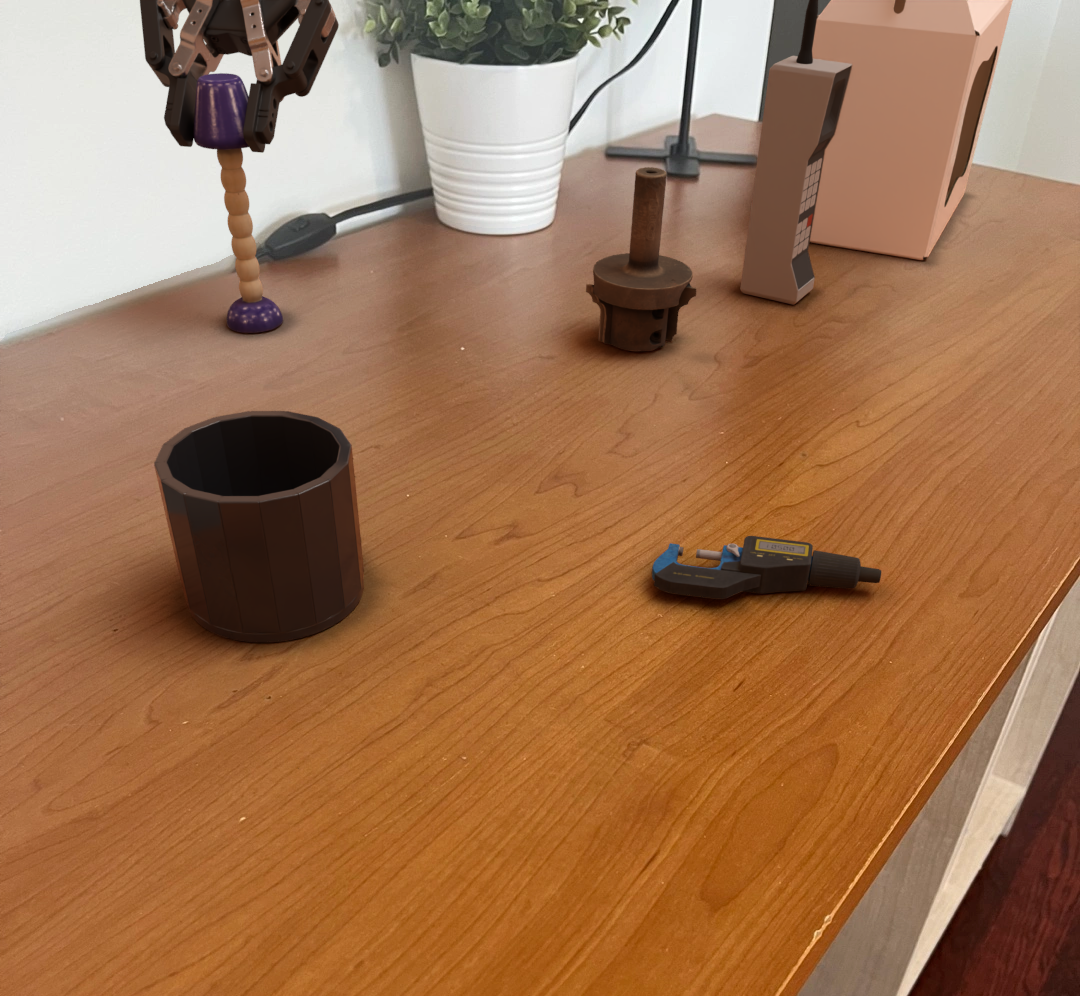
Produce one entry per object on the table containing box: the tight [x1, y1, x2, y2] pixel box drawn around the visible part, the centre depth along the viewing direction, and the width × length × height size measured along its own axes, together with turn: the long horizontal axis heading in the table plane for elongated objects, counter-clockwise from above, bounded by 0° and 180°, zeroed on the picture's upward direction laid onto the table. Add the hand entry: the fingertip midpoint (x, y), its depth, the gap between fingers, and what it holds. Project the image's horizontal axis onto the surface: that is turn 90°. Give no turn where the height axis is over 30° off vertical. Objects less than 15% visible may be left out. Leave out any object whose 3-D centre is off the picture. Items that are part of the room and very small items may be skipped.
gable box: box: [810, 0, 1014, 261], centre depth 100 cm, size 22×13×28 cm, turn 156°
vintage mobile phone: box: [739, 0, 852, 305], centre depth 85 cm, size 4×5×25 cm
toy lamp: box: [193, 72, 284, 334], centre depth 81 cm, size 5×5×17 cm
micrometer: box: [651, 535, 882, 600], centre depth 60 cm, size 12×2×5 cm
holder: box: [153, 410, 365, 644], centre depth 57 cm, size 9×9×8 cm
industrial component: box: [585, 166, 698, 352], centre depth 81 cm, size 9×7×12 cm
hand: (217, 141), depth 77 cm, fingers closed on toy lamp, 4 cm apart
